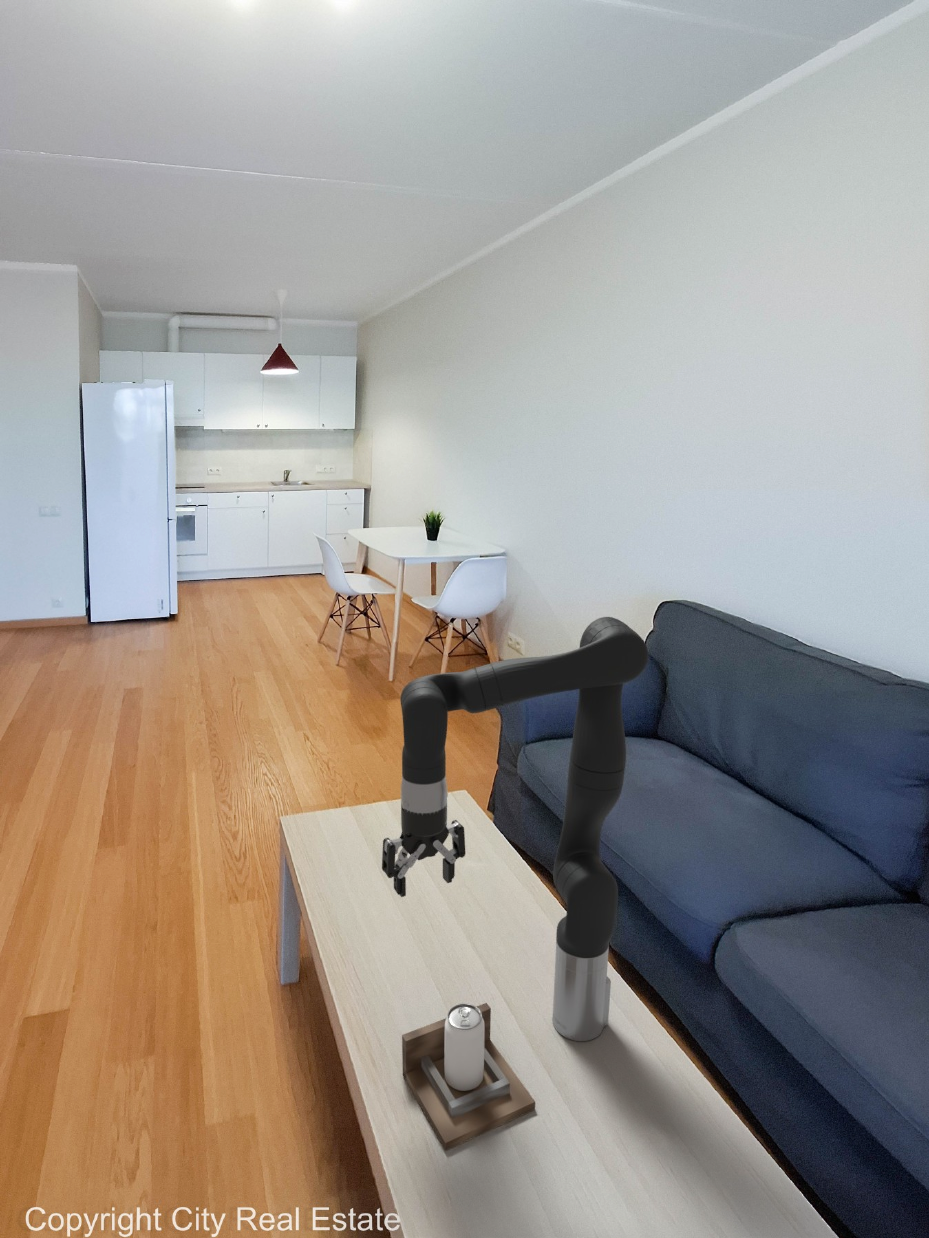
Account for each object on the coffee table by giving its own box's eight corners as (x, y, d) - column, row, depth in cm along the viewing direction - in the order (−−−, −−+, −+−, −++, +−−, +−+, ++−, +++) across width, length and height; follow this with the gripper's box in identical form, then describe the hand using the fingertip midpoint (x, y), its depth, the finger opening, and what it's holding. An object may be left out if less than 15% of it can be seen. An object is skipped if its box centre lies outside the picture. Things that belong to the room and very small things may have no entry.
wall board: (485, 1040, 142) (486, 1002, 140) (534, 1108, 128) (536, 1068, 126) (402, 1074, 135) (402, 1034, 133) (445, 1150, 121) (445, 1108, 119)
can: (482, 1060, 136) (483, 1000, 133) (484, 1092, 129) (486, 1030, 126) (444, 1061, 136) (444, 1001, 132) (444, 1093, 129) (444, 1031, 126)
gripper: (452, 781, 137) (452, 865, 141) (374, 799, 131) (376, 887, 135) (473, 800, 131) (472, 887, 135) (392, 820, 124) (394, 911, 129)
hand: (424, 887), depth 135 cm, fingers open, 8 cm apart
